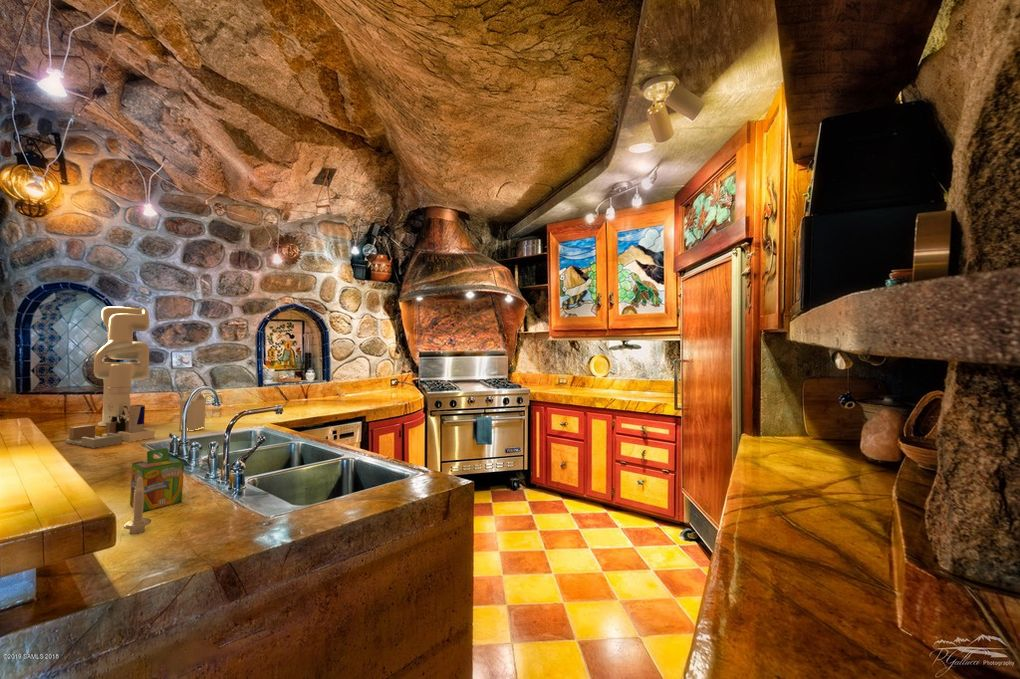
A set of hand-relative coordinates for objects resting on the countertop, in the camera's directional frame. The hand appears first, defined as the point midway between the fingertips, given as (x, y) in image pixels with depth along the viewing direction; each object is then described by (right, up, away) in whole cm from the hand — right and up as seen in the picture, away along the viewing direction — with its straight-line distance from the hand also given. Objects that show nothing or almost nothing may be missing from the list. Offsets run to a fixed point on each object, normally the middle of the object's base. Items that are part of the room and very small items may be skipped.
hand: (117, 430), depth 186 cm
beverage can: (+13, -3, -5) cm, 14 cm away
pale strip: (+8, -2, -3) cm, 9 cm away
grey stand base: (+4, -2, -14) cm, 15 cm away
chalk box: (+81, -4, -73) cm, 109 cm away
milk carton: (+22, -3, +16) cm, 27 cm away
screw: (+91, -4, -90) cm, 128 cm away
